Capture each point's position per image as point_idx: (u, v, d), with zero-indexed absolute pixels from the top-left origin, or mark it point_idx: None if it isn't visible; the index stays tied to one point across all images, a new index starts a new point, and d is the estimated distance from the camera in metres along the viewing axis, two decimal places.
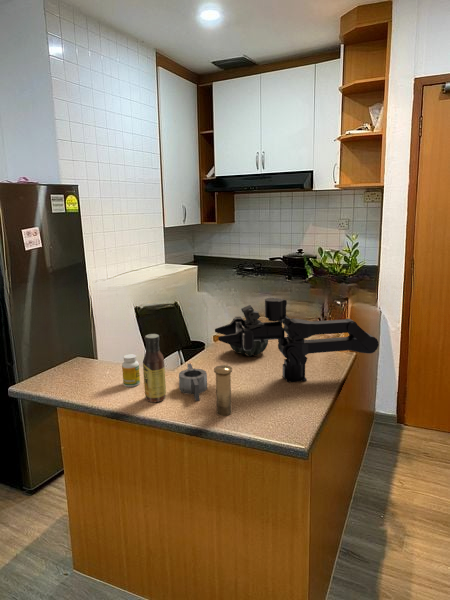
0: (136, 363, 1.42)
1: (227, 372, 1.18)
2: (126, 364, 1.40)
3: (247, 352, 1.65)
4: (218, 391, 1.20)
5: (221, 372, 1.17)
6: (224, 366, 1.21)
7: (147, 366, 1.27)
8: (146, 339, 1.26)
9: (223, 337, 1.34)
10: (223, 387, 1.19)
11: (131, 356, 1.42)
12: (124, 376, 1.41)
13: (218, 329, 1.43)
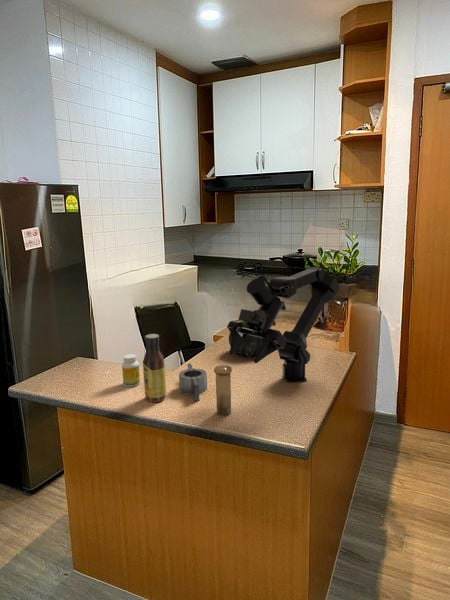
0: (136, 363, 1.42)
1: (227, 372, 1.18)
2: (126, 364, 1.40)
3: (247, 352, 1.65)
4: (218, 391, 1.20)
5: (221, 372, 1.17)
6: (224, 366, 1.21)
7: (147, 366, 1.27)
8: (146, 339, 1.26)
9: (258, 357, 1.22)
10: (223, 387, 1.19)
11: (131, 356, 1.42)
12: (124, 376, 1.41)
13: (232, 351, 1.28)
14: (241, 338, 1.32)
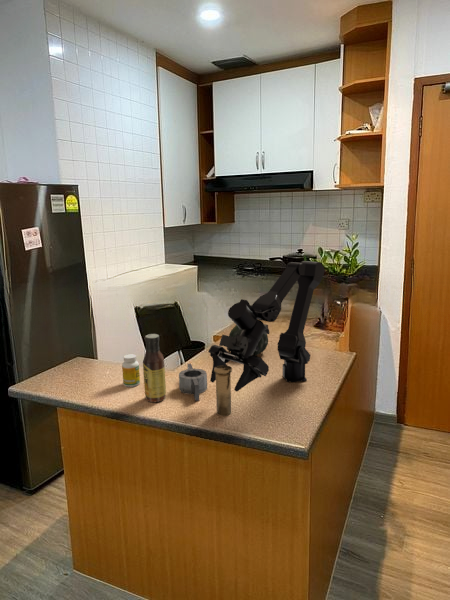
0: (136, 363, 1.42)
1: (227, 372, 1.18)
2: (126, 364, 1.40)
3: None
4: (218, 391, 1.20)
5: (221, 372, 1.17)
6: (224, 366, 1.21)
7: (147, 366, 1.27)
8: (146, 339, 1.26)
9: (239, 385, 1.17)
10: (223, 387, 1.19)
11: (131, 356, 1.42)
12: (124, 376, 1.41)
13: (213, 377, 1.24)
14: (223, 363, 1.27)
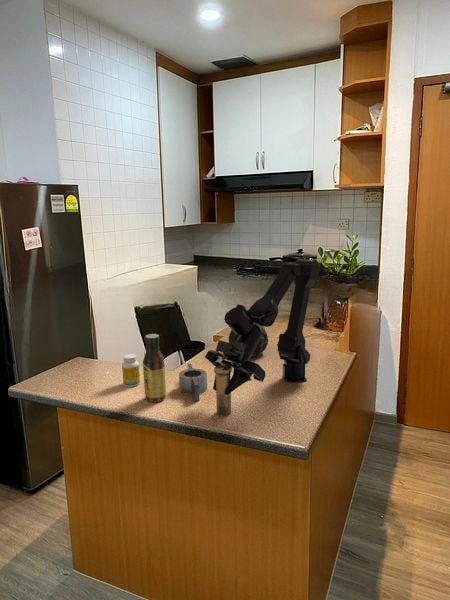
0: (136, 363, 1.42)
1: (227, 372, 1.18)
2: (126, 364, 1.40)
3: None
4: (218, 391, 1.20)
5: (221, 372, 1.17)
6: (224, 366, 1.21)
7: (147, 366, 1.27)
8: (146, 339, 1.26)
9: (229, 389, 1.18)
10: (223, 387, 1.19)
11: (131, 356, 1.42)
12: (124, 376, 1.41)
13: None
14: None
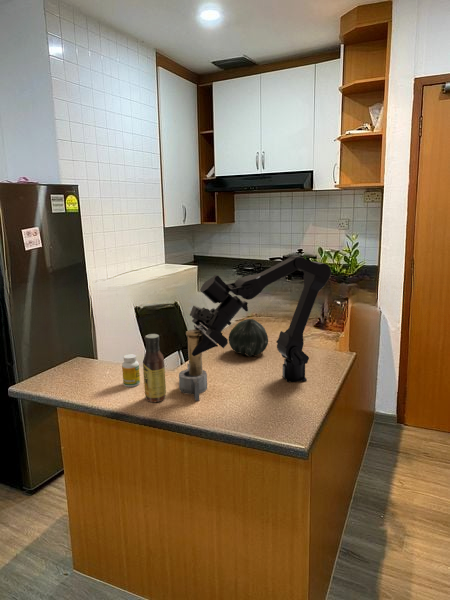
0: (136, 363, 1.42)
1: (194, 335, 1.28)
2: (126, 364, 1.40)
3: (247, 352, 1.65)
4: (188, 352, 1.31)
5: (189, 334, 1.29)
6: (197, 330, 1.32)
7: (147, 366, 1.27)
8: (146, 339, 1.26)
9: (195, 350, 1.29)
10: (191, 348, 1.30)
11: (131, 356, 1.42)
12: (124, 376, 1.41)
13: None
14: None
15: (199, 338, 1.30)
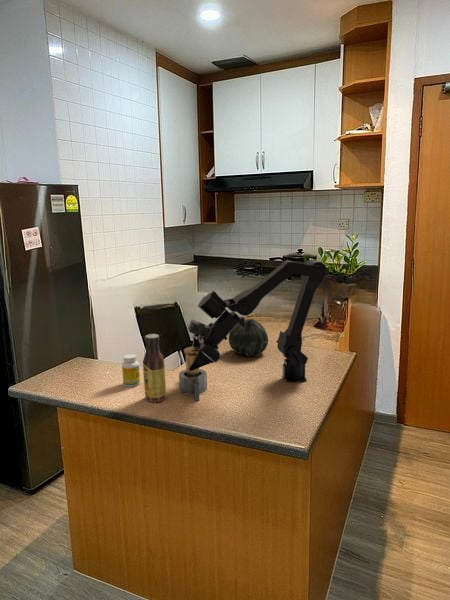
0: (136, 363, 1.42)
1: (190, 353, 1.34)
2: (126, 364, 1.40)
3: (247, 352, 1.65)
4: (186, 368, 1.37)
5: (186, 351, 1.35)
6: (195, 348, 1.37)
7: (147, 366, 1.27)
8: (146, 339, 1.26)
9: (192, 366, 1.32)
10: (188, 365, 1.36)
11: (131, 356, 1.42)
12: (124, 376, 1.41)
13: None
14: None
15: (196, 356, 1.35)
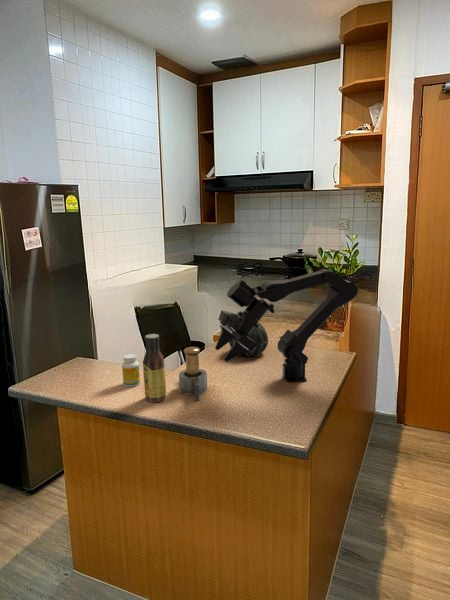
0: (136, 363, 1.42)
1: (190, 353, 1.34)
2: (126, 364, 1.40)
3: (247, 352, 1.65)
4: (186, 368, 1.37)
5: (186, 351, 1.35)
6: (195, 348, 1.37)
7: (147, 366, 1.27)
8: (146, 339, 1.26)
9: (227, 356, 1.33)
10: (188, 365, 1.36)
11: (131, 356, 1.42)
12: (124, 376, 1.41)
13: (217, 346, 1.42)
14: (230, 334, 1.43)
15: (196, 356, 1.35)
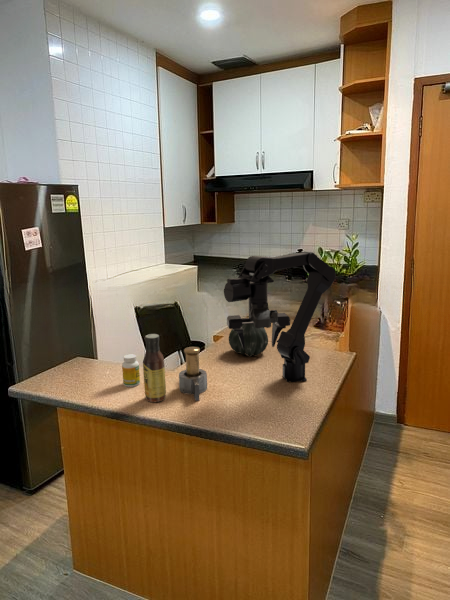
0: (136, 363, 1.42)
1: (190, 352, 1.34)
2: (126, 364, 1.40)
3: (247, 352, 1.65)
4: (186, 368, 1.37)
5: (186, 351, 1.35)
6: (195, 348, 1.37)
7: (147, 366, 1.27)
8: (146, 339, 1.26)
9: None
10: (188, 365, 1.36)
11: (131, 356, 1.42)
12: (124, 376, 1.41)
13: None
14: None
15: (196, 355, 1.35)
